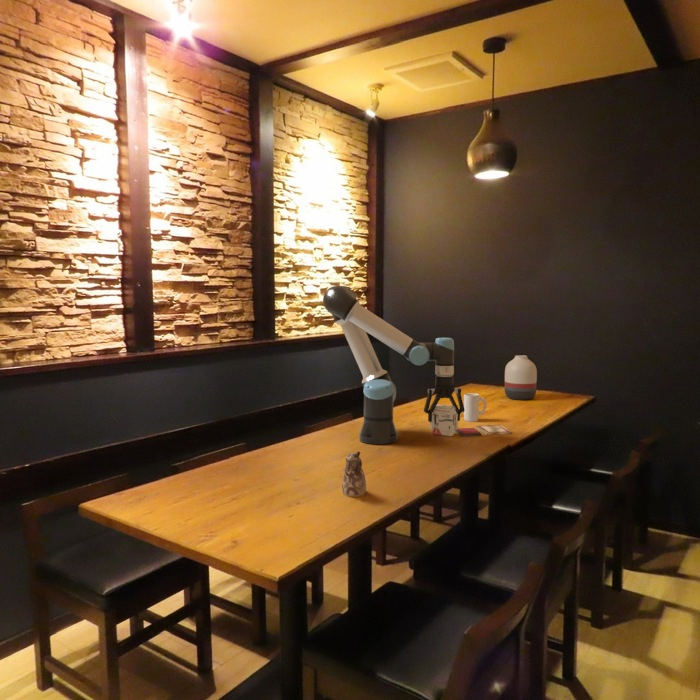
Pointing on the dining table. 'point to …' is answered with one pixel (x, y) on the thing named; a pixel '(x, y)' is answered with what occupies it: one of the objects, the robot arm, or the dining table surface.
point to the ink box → (444, 420)
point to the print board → (493, 429)
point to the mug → (472, 407)
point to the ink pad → (468, 432)
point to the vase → (520, 378)
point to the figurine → (354, 476)
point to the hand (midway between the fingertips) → (443, 429)
